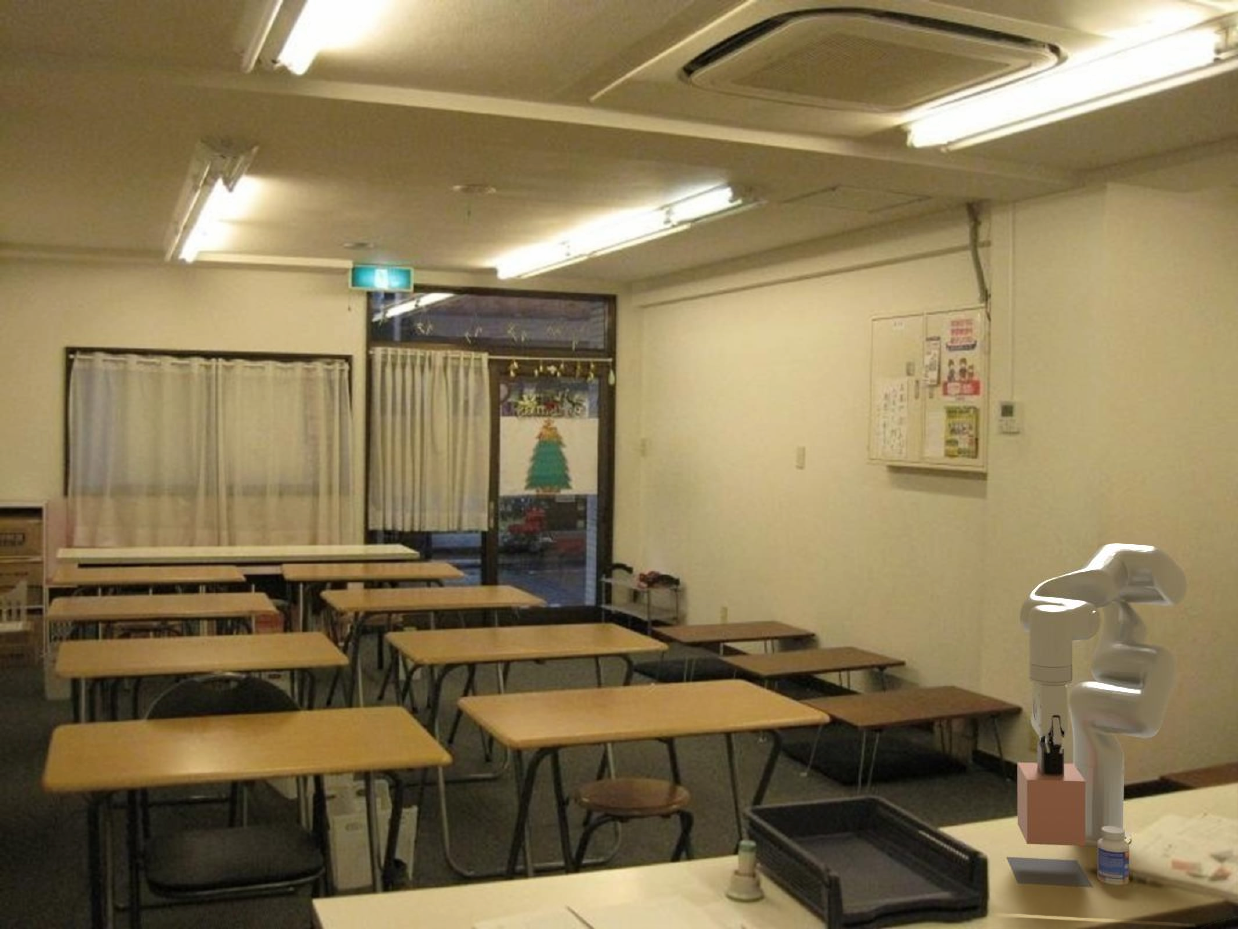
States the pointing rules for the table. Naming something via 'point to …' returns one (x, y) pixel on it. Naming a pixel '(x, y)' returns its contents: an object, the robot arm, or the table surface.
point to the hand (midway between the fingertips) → (1050, 768)
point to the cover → (1051, 803)
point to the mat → (1048, 872)
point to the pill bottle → (1113, 856)
